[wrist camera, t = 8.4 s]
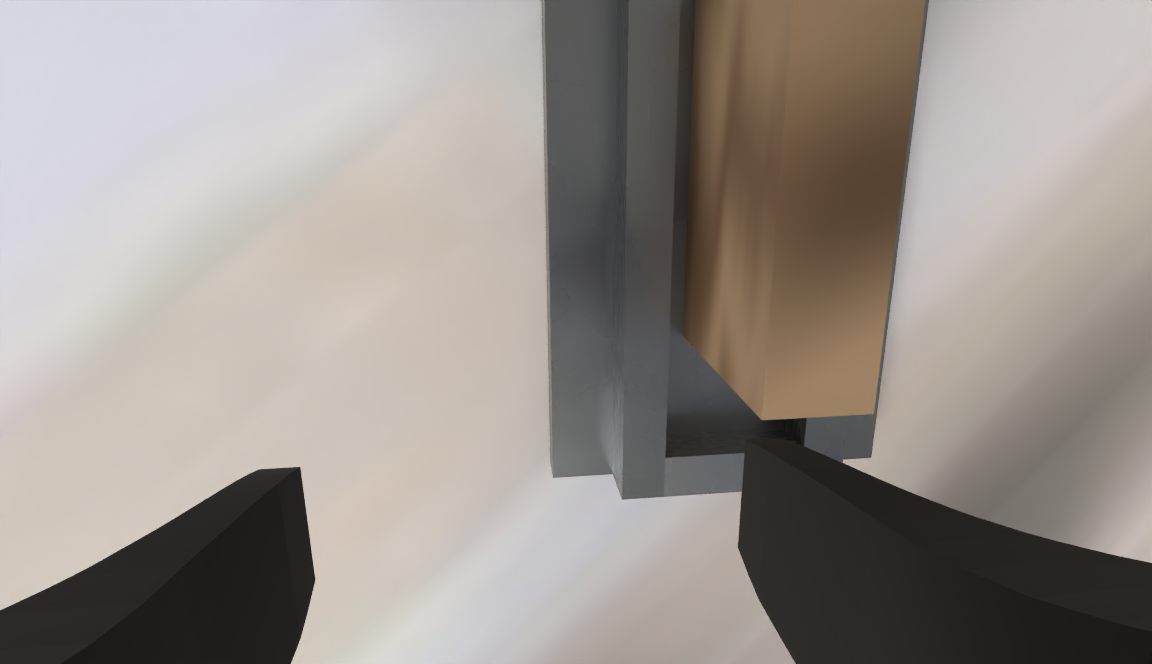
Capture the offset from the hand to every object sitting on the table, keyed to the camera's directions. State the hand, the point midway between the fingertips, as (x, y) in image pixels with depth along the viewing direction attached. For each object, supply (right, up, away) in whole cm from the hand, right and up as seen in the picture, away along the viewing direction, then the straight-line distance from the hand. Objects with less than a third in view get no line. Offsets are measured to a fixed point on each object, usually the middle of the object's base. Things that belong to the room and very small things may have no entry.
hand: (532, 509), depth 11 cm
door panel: (+5, +7, +7) cm, 11 cm away
